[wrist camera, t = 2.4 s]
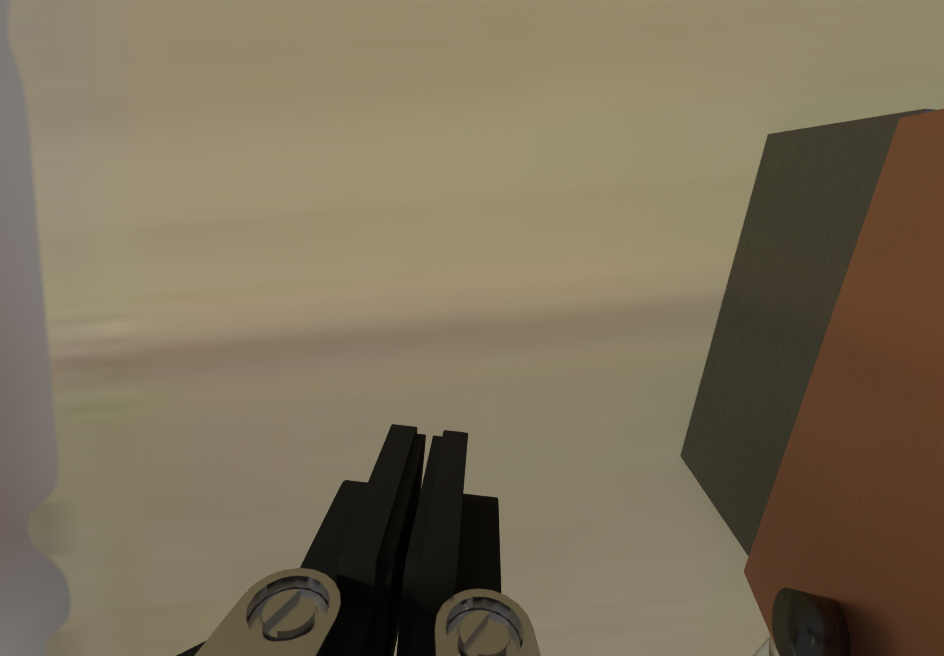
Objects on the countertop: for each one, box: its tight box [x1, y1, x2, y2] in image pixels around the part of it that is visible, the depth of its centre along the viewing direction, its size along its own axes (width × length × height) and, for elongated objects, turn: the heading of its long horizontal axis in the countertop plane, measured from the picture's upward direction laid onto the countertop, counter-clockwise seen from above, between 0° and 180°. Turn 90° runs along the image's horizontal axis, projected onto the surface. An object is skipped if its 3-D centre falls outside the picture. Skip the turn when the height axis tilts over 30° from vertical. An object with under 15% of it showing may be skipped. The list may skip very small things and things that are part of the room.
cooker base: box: [681, 109, 936, 556], centre depth 24 cm, size 25×17×10 cm
